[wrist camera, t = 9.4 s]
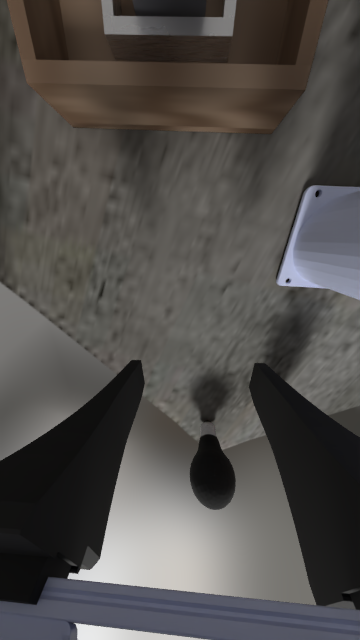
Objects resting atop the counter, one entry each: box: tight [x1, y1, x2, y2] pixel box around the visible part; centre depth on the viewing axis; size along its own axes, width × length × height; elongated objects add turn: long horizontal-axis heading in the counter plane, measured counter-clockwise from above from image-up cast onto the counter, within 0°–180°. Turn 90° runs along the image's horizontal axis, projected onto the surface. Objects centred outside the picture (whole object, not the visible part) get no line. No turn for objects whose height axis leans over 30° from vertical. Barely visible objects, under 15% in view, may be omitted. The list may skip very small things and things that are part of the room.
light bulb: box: [190, 421, 235, 510], centre depth 23 cm, size 6×6×10 cm
